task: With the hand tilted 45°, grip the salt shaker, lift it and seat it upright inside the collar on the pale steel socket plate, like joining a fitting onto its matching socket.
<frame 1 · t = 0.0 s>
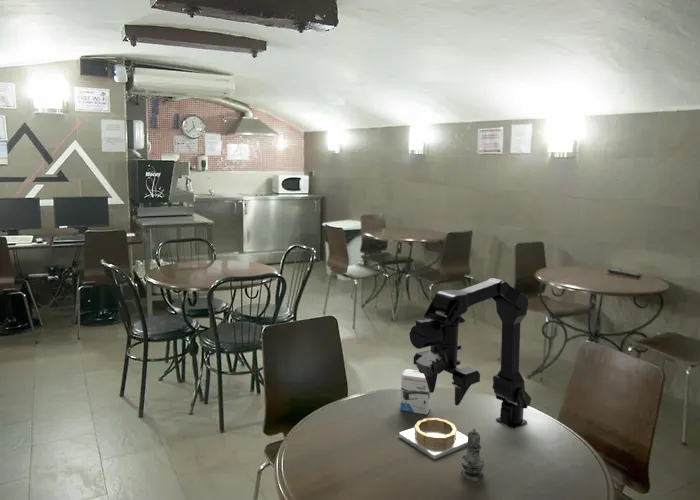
hand: (444, 398, 143), 15 cm above the table, tool pointing down, fingers open, 9 cm apart
socket plate: (435, 440, 151), on the table
salt shaker: (471, 475, 135), on the table
ink box: (415, 410, 169), on the table
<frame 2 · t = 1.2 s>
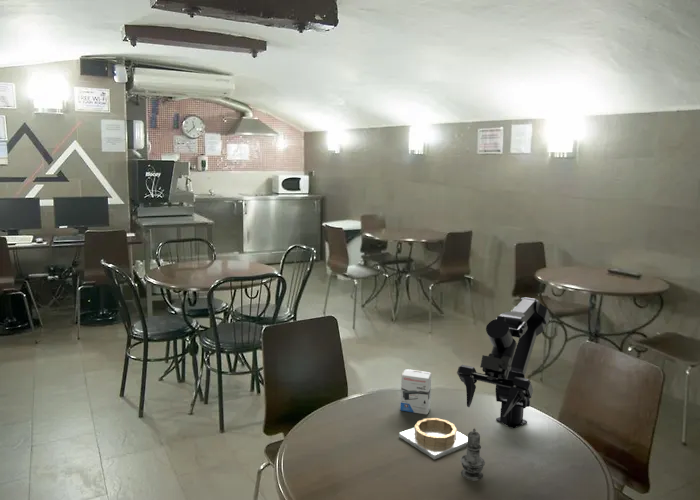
hand: (485, 411, 139), 13 cm above the table, tool tilted 45°, fingers open, 9 cm apart
nothing on the table moved.
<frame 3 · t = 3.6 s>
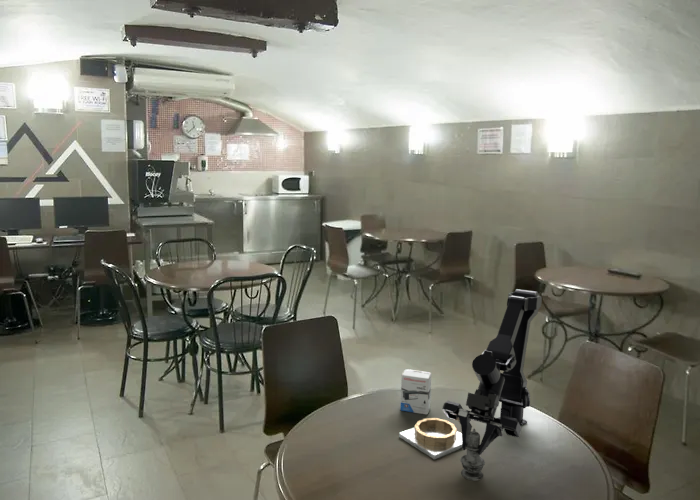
hand: (471, 451, 132), 7 cm above the table, tool tilted 45°, fingers closed on salt shaker, 4 cm apart
salt shaker: (471, 474, 135), on the table, touching gripper
everything else where it was.
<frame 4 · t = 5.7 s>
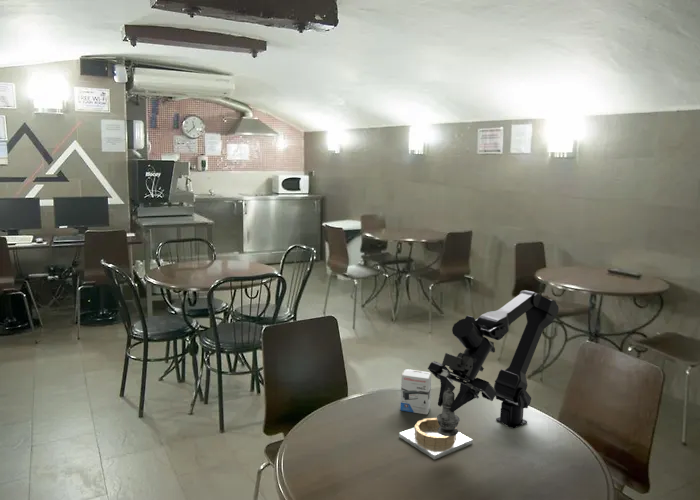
hand: (444, 408, 140), 13 cm above the table, tool tilted 45°, fingers closed on salt shaker, 4 cm apart
salt shaker: (447, 431, 142), point 6 cm above the table, touching gripper
everything else where it was.
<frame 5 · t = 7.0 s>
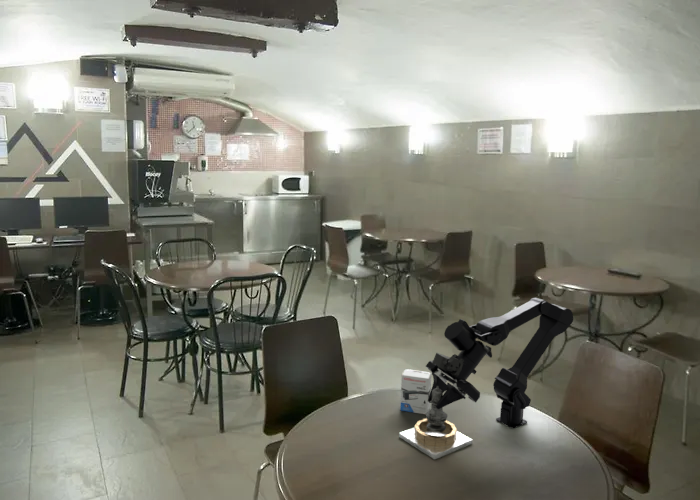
hand: (432, 405, 148), 10 cm above the table, tool tilted 45°, fingers closed on salt shaker, 4 cm apart
salt shaker: (436, 427, 150), point 4 cm above the table, touching gripper
everything else where it was.
when the fingers open (9 cm above the table, at t = 8.0 s): salt shaker drops 1 cm, resting on socket plate.
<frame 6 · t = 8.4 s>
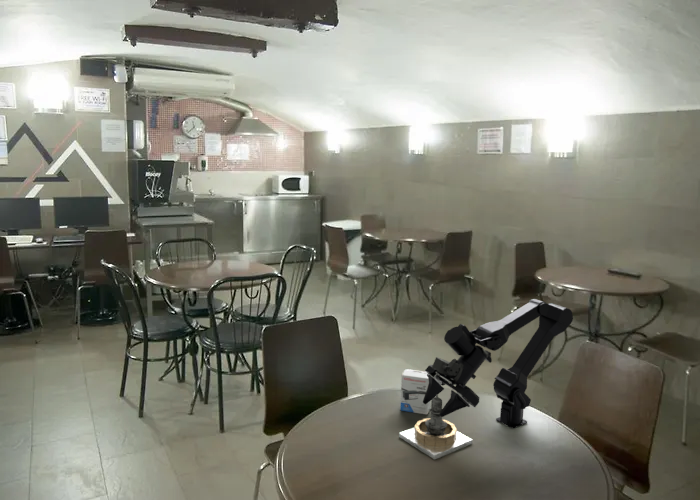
hand: (432, 409, 148), 9 cm above the table, tool tilted 45°, fingers open, 8 cm apart
salt shaker: (435, 436, 150), point 1 cm above the table, touching socket plate
everything else where it was.
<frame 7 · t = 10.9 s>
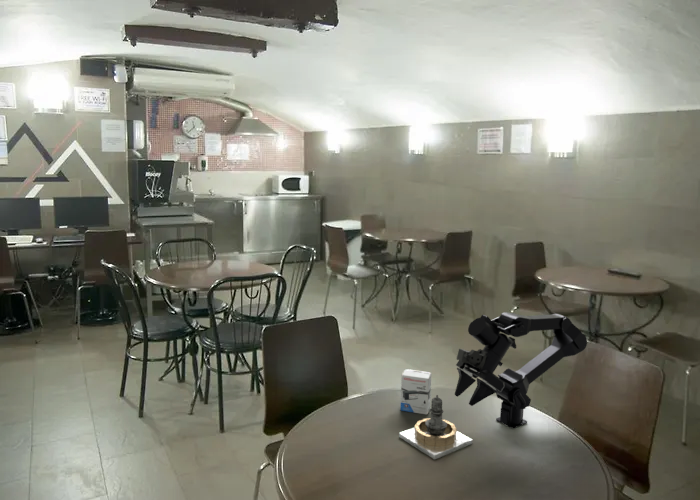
hand: (462, 400, 152), 10 cm above the table, tool tilted 40°, fingers open, 9 cm apart
nothing on the table moved.
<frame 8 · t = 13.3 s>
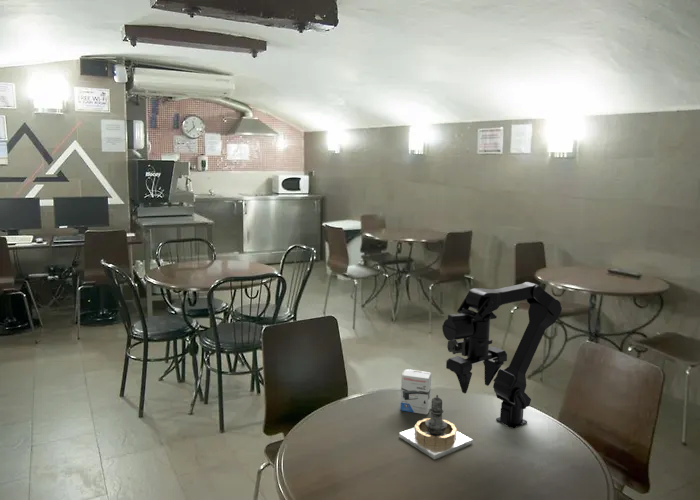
hand: (475, 389, 153), 13 cm above the table, tool pointing down, fingers open, 9 cm apart
nothing on the table moved.
at the end: salt shaker 0.1 cm off-centre on the socket plate, point 1.0 cm above the socket plate's base; salt shaker tilted 0°; the gripper is holding nothing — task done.
